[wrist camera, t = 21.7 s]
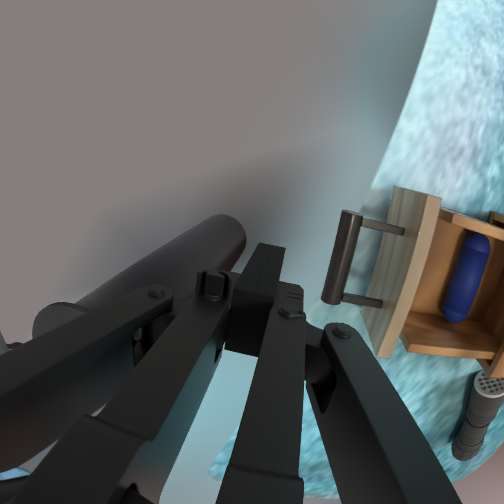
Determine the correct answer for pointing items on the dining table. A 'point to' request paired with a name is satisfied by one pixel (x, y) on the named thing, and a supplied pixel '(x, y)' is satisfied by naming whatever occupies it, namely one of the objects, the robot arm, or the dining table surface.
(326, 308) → the dining table surface
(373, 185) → the dining table surface
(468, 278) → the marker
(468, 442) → the flashlight
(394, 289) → the drawer
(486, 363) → the cabinet
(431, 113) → the dining table surface
